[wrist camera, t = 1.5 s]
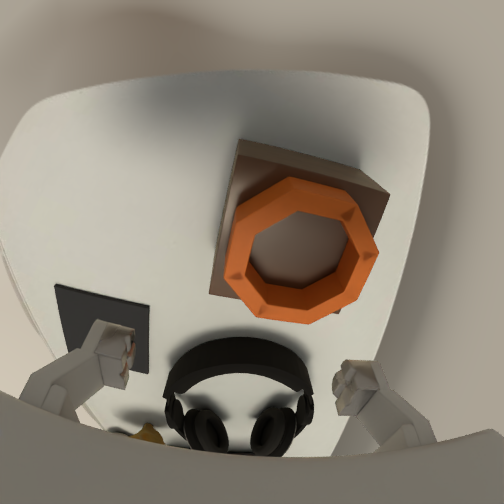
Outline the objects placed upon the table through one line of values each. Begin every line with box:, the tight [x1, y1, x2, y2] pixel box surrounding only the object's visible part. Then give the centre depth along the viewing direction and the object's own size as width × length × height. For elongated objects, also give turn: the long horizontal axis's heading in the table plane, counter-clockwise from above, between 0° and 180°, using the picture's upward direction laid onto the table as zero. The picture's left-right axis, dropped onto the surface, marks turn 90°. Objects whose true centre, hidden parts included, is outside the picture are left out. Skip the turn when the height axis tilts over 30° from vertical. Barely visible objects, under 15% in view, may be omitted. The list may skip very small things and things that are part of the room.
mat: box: [54, 284, 149, 374], centre depth 32 cm, size 11×11×1 cm
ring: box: [223, 177, 379, 324], centre depth 19 cm, size 9×9×2 cm
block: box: [209, 139, 390, 314], centre depth 23 cm, size 10×10×6 cm
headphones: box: [163, 337, 314, 457], centre depth 34 cm, size 18×8×20 cm
